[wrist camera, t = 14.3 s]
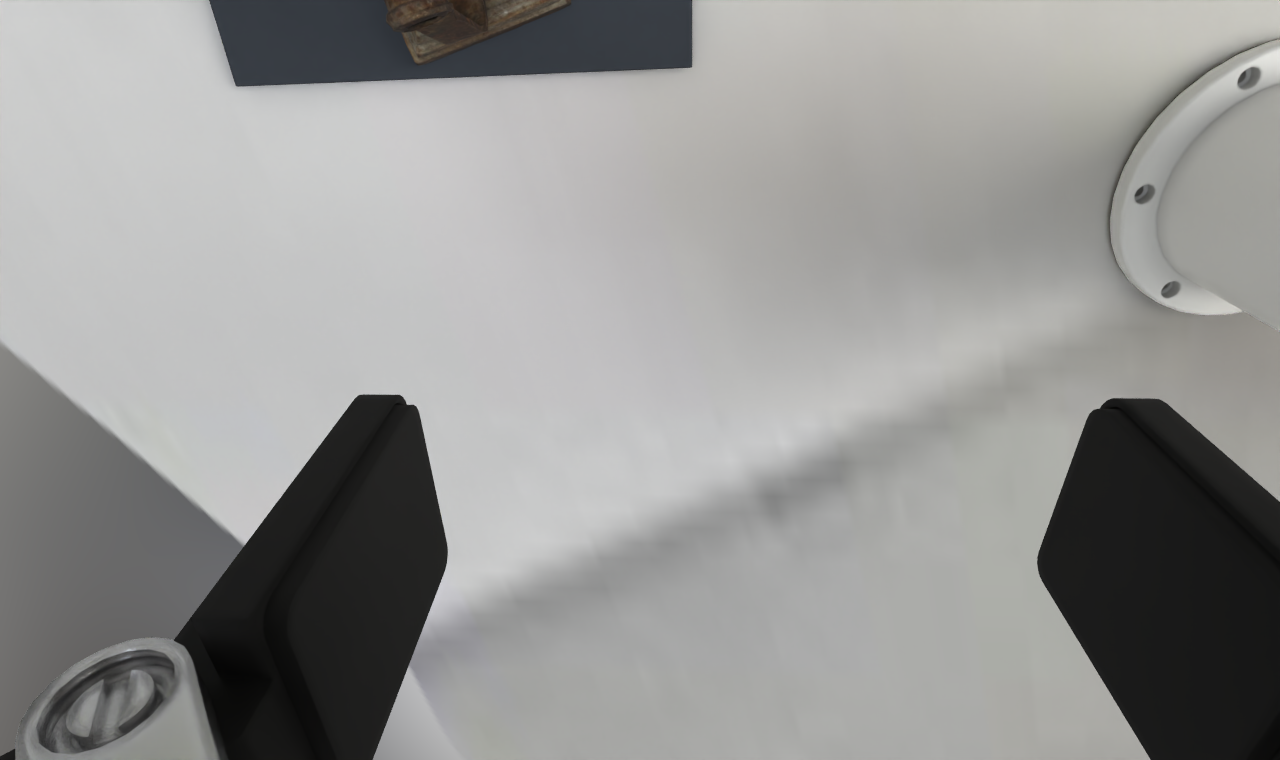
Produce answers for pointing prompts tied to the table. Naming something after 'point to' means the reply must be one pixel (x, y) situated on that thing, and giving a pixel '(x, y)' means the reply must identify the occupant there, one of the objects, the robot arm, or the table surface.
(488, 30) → the clothes iron
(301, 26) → the iron rest mat
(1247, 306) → the robot arm
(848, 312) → the table surface
